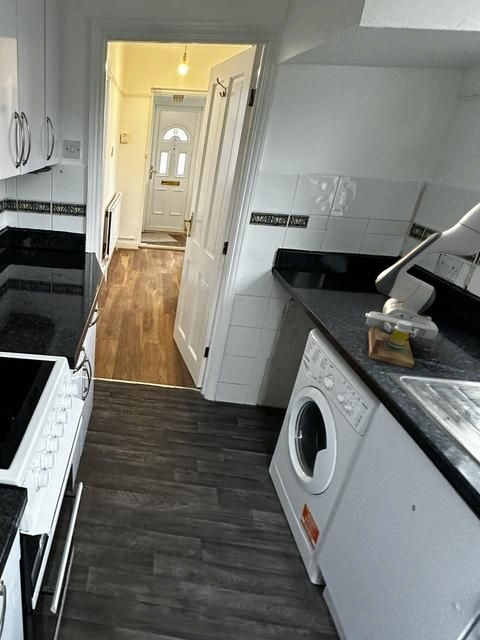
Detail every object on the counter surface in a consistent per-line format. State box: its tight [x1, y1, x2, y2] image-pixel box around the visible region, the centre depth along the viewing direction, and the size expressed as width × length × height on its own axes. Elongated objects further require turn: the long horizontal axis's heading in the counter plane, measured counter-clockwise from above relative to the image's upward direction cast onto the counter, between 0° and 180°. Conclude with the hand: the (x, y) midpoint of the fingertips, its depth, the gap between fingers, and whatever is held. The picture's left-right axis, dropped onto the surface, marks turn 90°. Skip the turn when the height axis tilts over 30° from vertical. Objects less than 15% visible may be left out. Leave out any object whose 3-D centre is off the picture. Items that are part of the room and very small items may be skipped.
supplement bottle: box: [388, 320, 413, 348], centre depth 138 cm, size 5×5×8 cm
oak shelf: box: [367, 326, 415, 369], centre depth 142 cm, size 12×22×7 cm, turn 150°
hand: (402, 333), depth 137 cm, fingers closed on supplement bottle, 5 cm apart
